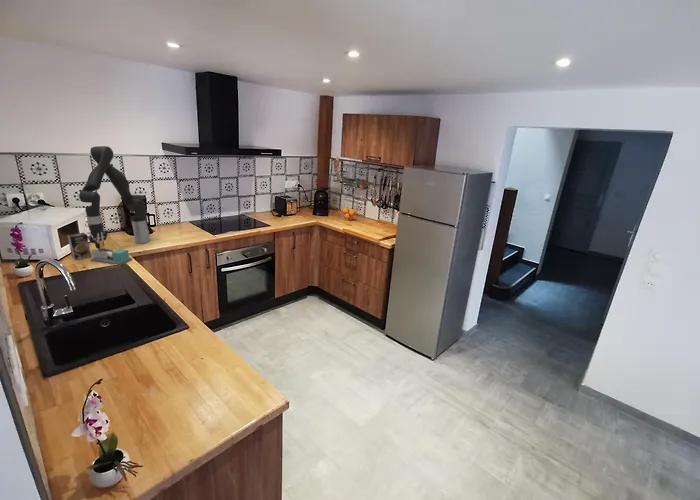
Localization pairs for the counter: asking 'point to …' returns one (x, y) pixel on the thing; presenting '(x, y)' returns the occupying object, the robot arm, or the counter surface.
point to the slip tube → (103, 247)
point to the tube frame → (118, 257)
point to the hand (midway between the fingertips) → (100, 247)
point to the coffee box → (79, 246)
